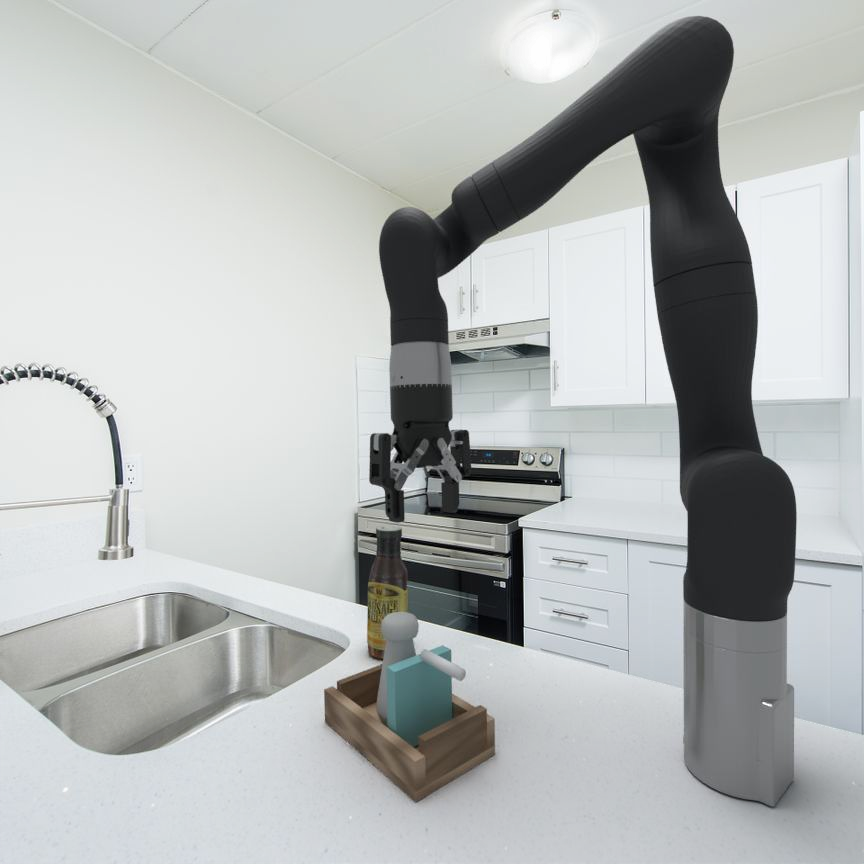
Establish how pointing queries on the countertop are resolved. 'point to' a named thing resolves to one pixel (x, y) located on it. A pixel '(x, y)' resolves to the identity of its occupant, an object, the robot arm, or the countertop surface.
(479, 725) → the wooden tray
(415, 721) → the pusher paddle
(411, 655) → the salt shaker
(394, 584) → the sauce bottle
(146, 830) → the countertop surface
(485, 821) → the countertop surface
